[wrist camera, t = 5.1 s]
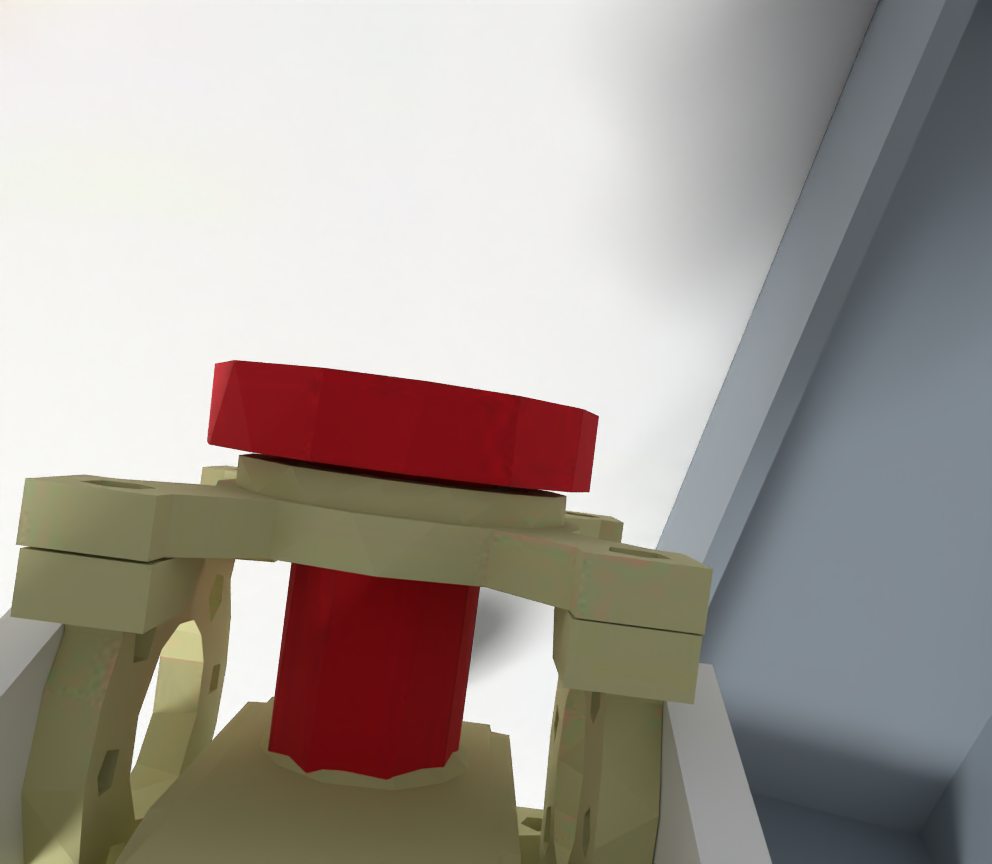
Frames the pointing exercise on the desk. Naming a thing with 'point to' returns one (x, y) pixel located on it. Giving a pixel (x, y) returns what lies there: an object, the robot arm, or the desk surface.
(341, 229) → the desk surface
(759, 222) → the desk surface
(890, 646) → the parts bin
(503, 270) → the desk surface
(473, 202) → the desk surface
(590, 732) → the mechanical component
